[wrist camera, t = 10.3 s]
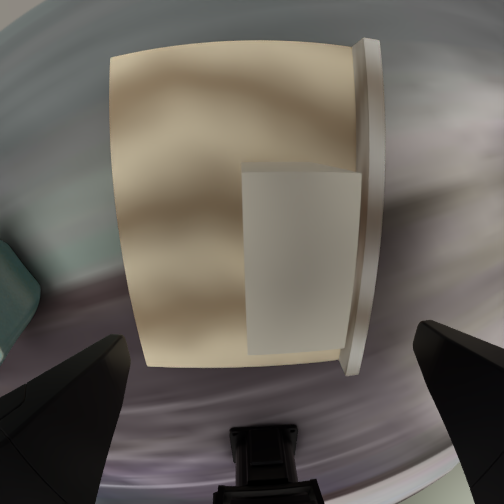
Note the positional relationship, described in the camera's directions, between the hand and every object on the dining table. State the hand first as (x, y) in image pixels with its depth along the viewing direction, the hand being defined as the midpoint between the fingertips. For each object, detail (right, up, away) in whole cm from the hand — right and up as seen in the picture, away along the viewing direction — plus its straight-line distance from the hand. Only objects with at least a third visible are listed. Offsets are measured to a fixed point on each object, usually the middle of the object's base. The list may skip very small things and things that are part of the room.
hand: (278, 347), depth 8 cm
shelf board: (-1, +5, +11) cm, 12 cm away
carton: (+1, +5, +10) cm, 11 cm away
